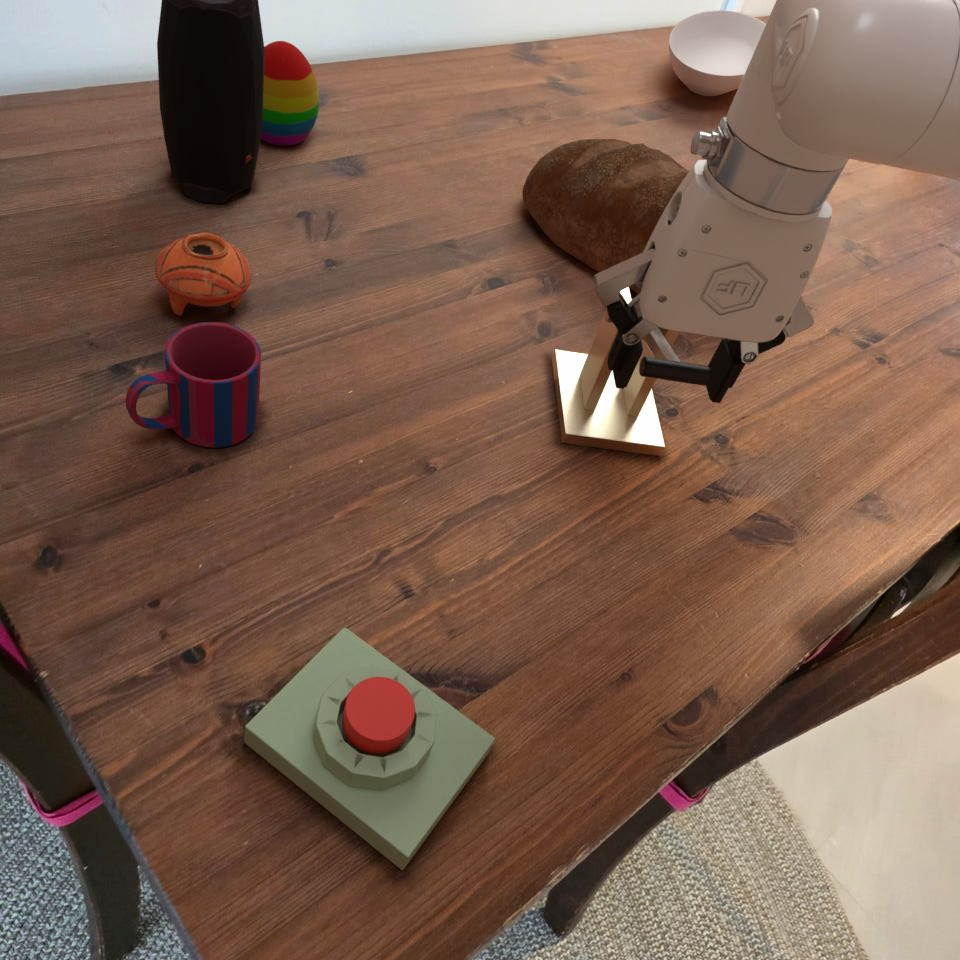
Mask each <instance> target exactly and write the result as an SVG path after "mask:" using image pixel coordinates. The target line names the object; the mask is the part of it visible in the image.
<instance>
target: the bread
mask: <svg viewBox="0 0 960 960" xmlns="http://www.w3.org/2000/svg"><path fill="white" fill-rule="evenodd" d="M689 171H690V170H688V169H687V168H686V167H684V166H682V165H681V164H680V163H678V162H677V161H676V160H675V159H674V158H673V157H671V156H670V155H669V154H667V153H666V152H663V151H661V150H659V149H656V148H652V147H648V146H647V145H646V144H644V143H630V142H629V141H625V140H620V139H616V138H591V139H590V138H587V139H578V140H574V141H571V142H568V143H567V142H566V143H564V144H561V145H559V146H557V147H555V148H554V149H552V150H550V151H549V152H547V153H545V154H544V155H543V156H542V157H541V158H539V160H538V161H537V162H536V163H535V165H534V166H533V167H532V168H531V170H530V171H529V173H528V174H527V176H526V179H525V181H524V184H523V186H522V201H523V204H524V205H525V207H526V209H527V210H528V212H529V213H530V215H531V216H532V218H533V219H534V221H535V222H536V223H537V225H538V226H539V227H540V229H541V230H542V232H543V233H544V234H545V235H546V237H548V238H549V240H550V241H551V242H553V244H554V245H556V246H557V247H558V248H559V249H561V250H563V251H564V252H566V253H567V254H569V255H570V256H572V257H573V258H576V260H578V261H580V262H582V263H583V264H585V265H586V266H588V267H589V268H591V269H593V270H594V271H596V272H597V273H599V272H601V271H603V270H606V269H608V268H610V267H612V266H614V265H616V264H619V263H621V262H623V261H625V260H627V259H630V258H632V257H634V256H636V255H638V254H641V253H643V251H644V249H645V247H646V245H647V243H648V241H649V239H650V237H651V235H652V233H653V231H654V229H655V227H656V225H657V223H658V221H659V219H660V217H661V215H662V214H663V212H664V210H665V208H666V207H667V205H668V203H669V202H670V200H671V198H672V197H673V195H674V193H675V192H676V190H677V189H678V187H679V186H680V184H681V183H682V181H683V180H684V178H685V177H686V176H687V174H688V173H689ZM629 289H630V291H633V292H635V293H637V295H638V294H639V293H640V292H641V290H642V289H641V288H639V287H638V286H637V285H636V284H634V285H631V286H629Z"/></svg>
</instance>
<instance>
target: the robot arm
mask: <svg viewBox="0 0 960 960" xmlns="http://www.w3.org/2000/svg"><path fill="white" fill-rule="evenodd" d="M765 24H766V26H765V28H764V30H763V33H762V35H761V37H760V40H759V42H758V44H757V46H756V49H755V51H754V53H753V56H752V58H751V60H750V63H749V65H748V67H747V70H746V72H745V74H744V76H743V79H742V81H741V83H740V86H739V88H738V89H736V92H735V95H734V97H733V100H732V102H731V104H730V106H729V109H728V111H727V114H726V116H722V117H721V118H720V121H719V123H718V126H717V127H716V128H715V130H709V131H707V132H706V131H702V130H697V131H696V132H695V133H694V134H693V137H692V140H691V143H690V154H691V155H694V156H699V157H701V159H698V160H696V162H695V164H693V166H692V167H691V168H690V170H688V171H689V173H688V174H687V176H686V177H685V178H684V180H683V181H682V183H681V184H680V186H679V187H678V189H677V190H676V192H675V193H674V195H673V197H672V198H671V200H670V202H669V203H668V205H667V207H666V208H665V210H664V212H663V214H662V215H661V217H660V219H659V221H658V223H657V225H656V227H655V229H654V231H653V233H652V235H651V237H650V239H649V241H648V243H647V245H646V247H645V249H644V251H643V253H641V254H638V255H636V256H634V257H632V258H630V259H627V260H625V261H623V262H621V263H619V264H616V265H614V266H612V267H610V268H608V269H606V270H603V271H601V272H597V273H596V274H594V275H593V279H592V281H593V286H594V292H595V293H596V295H597V297H598V299H599V300H600V302H601V305H602V306H603V308H605V311H606V310H607V312H608V315H609V318H610V319H611V321H612V322H613V324H614V325H615V327H616V328H617V329H618V333H617V335H616V338H615V340H614V343H613V345H612V347H611V350H610V352H609V355H608V360H607V363H608V369H609V370H613V376H614V381H615V386H616V388H620V389H624V387H627V385H628V383H629V381H630V379H631V376H632V374H633V372H634V370H635V368H636V365H637V363H638V361H639V359H640V357H641V355H642V352H643V346H642V342H641V340H642V339H643V338H644V337H645V336H646V335H648V334H649V333H650V332H651V331H652V330H653V329H655V328H656V327H660V328H664V329H670V330H675V331H679V332H681V333H687V334H688V333H689V334H693V335H694V334H695V335H699V336H706V337H712V338H718V339H721V340H720V342H719V344H718V346H717V348H716V350H715V351H714V353H713V355H712V357H711V358H710V360H709V363H708V364H707V366H708V367H710V370H711V376H710V380H709V382H708V384H707V385H705V388H706V391H707V395H708V397H709V398H708V399H709V400H710V401H711V402H712V403H715V404H720V403H721V402H722V400H723V398H724V397H725V395H726V394H727V392H728V390H729V389H732V388H733V387H734V385H735V383H736V382H737V380H738V378H739V377H740V375H741V373H742V371H743V369H744V367H745V366H746V365H749V364H753V363H755V362H757V360H758V359H759V355H760V354H763V353H765V352H767V351H769V350H772V349H774V348H777V347H778V346H780V345H782V344H784V342H785V341H786V339H787V338H792V337H794V336H796V335H798V334H800V333H802V332H804V331H806V330H808V329H810V328H812V327H813V326H814V324H815V319H814V317H813V314H812V312H811V310H810V308H809V307H808V306H809V305H808V304H807V302H806V301H805V300H804V298H803V295H802V294H803V292H804V290H805V288H806V286H807V285H808V282H809V280H810V277H811V275H812V274H813V271H814V269H815V266H816V264H817V261H818V259H819V256H820V254H821V251H822V248H823V245H824V242H825V239H826V237H827V234H828V230H829V227H830V223H831V221H832V218H833V212H834V210H833V207H832V205H831V204H830V202H829V201H828V197H829V196H830V193H831V192H832V190H833V188H834V186H835V185H836V183H837V181H838V179H839V177H840V176H841V174H842V172H843V171H844V168H845V167H846V165H847V164H848V162H849V160H852V161H853V160H854V161H857V162H858V161H859V162H863V163H864V162H865V163H868V164H874V165H883V166H887V167H892V168H897V169H901V170H902V169H903V170H906V171H912V172H917V173H921V174H927V175H932V176H936V177H942V178H946V179H951V180H955V181H959V182H960V0H776V1H775V2H774V5H773V7H772V10H771V12H770V14H769V17H768V18H767V21H766V23H765ZM634 284H636V285H637V286H638V287H639V288H641V289H642V290H641V292H640V293H639V294H638V293H637V295H635V297H633V298H634V299H633V300H631V301H630V302H629V303H627V302H626V300H625V299H624V297H623V296H622V294H621V293H620V291H621V290H623V289H625V288H627V287H629V286H631V285H634Z"/></svg>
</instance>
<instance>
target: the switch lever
mask: <svg viewBox="0 0 960 960" xmlns="http://www.w3.org/2000/svg"><path fill="white" fill-rule="evenodd" d="M631 298H632V300H633V299H634V298H635V297H631ZM643 339H644V341H645V342H646V344H647V346H648V347H649V349H650V351H651V352H652V354H653V356H654V357H655V358H651V357H643V358H642V360H641V362H640V366H639V374H640V376H643V377H649V378H656V380H664V381H671V382H676V383H684V384H689V385H696V386H704V387H706V385H707V384H708V382H709V380H710V376H711V370H710V367H708V365H702V364H696V363H689V362H682V361H681V360H680V358H679V357H678V355H677V353H676V352H675V351H674V349H673V347H672V348H671V346H670V345H669V343H668V342H667V340H666V339H665V337H664V336H663V334H662V333H661V331H660V329H659V327H656V328H655V329H653V330H652V331H651V332H650V333H649V334H648V335H646V336H645V337H644V338H643Z"/></svg>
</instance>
